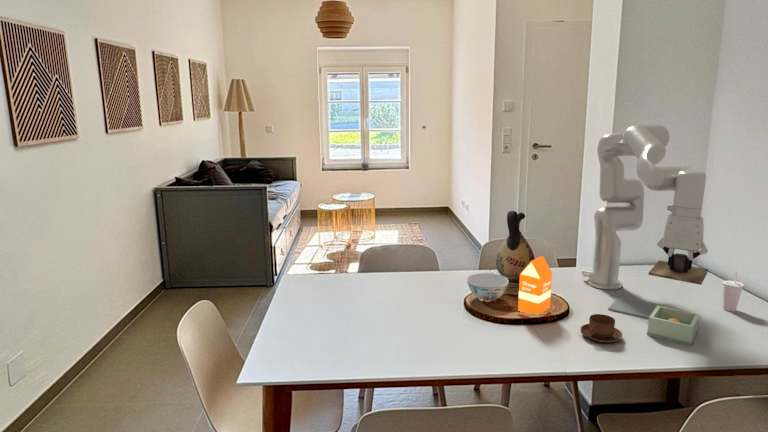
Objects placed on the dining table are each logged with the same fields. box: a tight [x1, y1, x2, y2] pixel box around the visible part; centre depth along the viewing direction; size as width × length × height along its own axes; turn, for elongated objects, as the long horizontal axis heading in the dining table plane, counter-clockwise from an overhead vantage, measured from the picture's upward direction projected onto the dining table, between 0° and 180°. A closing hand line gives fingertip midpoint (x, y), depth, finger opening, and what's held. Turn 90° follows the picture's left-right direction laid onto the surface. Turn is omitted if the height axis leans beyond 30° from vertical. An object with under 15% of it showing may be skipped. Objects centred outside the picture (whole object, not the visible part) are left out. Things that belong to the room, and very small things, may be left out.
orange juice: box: [517, 255, 553, 315], centre depth 179 cm, size 8×9×20 cm
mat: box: [607, 295, 666, 320], centre depth 184 cm, size 15×15×1 cm
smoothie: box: [721, 270, 745, 313], centre depth 181 cm, size 6×6×14 cm
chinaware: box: [466, 272, 509, 300], centre depth 193 cm, size 15×15×8 cm
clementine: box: [668, 318, 680, 323], centre depth 164 cm, size 4×4×4 cm
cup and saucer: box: [580, 313, 623, 343], centre depth 162 cm, size 12×12×6 cm
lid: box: [648, 253, 709, 286], centre depth 160 cm, size 14×14×6 cm
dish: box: [646, 305, 701, 347], centre depth 164 cm, size 12×12×6 cm
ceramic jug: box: [495, 210, 536, 286], centre depth 208 cm, size 17×15×30 cm
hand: (679, 269), depth 160 cm, fingers closed on lid, 3 cm apart
